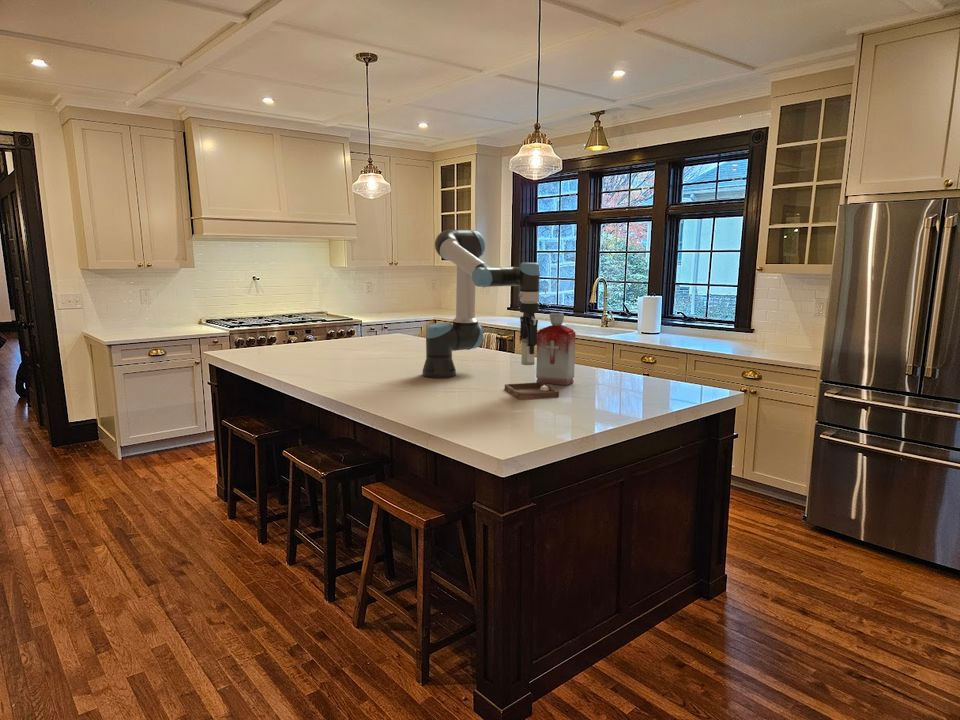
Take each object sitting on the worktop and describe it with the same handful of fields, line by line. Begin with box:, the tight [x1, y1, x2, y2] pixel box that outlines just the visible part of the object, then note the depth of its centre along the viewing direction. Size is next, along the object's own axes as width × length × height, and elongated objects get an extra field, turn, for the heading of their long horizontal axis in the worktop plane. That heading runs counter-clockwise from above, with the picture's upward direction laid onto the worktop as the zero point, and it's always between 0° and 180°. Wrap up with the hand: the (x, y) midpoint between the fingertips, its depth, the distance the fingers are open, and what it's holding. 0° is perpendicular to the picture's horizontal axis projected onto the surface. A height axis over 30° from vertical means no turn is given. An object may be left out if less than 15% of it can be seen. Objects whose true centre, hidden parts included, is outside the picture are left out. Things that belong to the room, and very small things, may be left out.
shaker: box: [520, 337, 536, 366], centre depth 248 cm, size 6×6×11 cm
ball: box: [540, 385, 549, 392], centre depth 244 cm, size 4×4×4 cm
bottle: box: [535, 312, 576, 387], centre depth 264 cm, size 14×10×30 cm
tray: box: [504, 382, 560, 400], centre depth 247 cm, size 18×16×2 cm
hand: (528, 360), depth 249 cm, fingers closed on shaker, 5 cm apart
